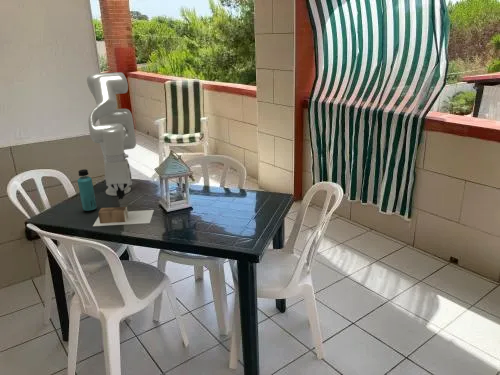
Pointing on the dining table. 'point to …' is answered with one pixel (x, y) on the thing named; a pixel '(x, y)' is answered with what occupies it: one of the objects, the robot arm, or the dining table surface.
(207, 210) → the dining table surface
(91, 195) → the beverage bottle
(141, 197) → the dining table surface
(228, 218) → the dining table surface
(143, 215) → the white rectangular board
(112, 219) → the walnut block
